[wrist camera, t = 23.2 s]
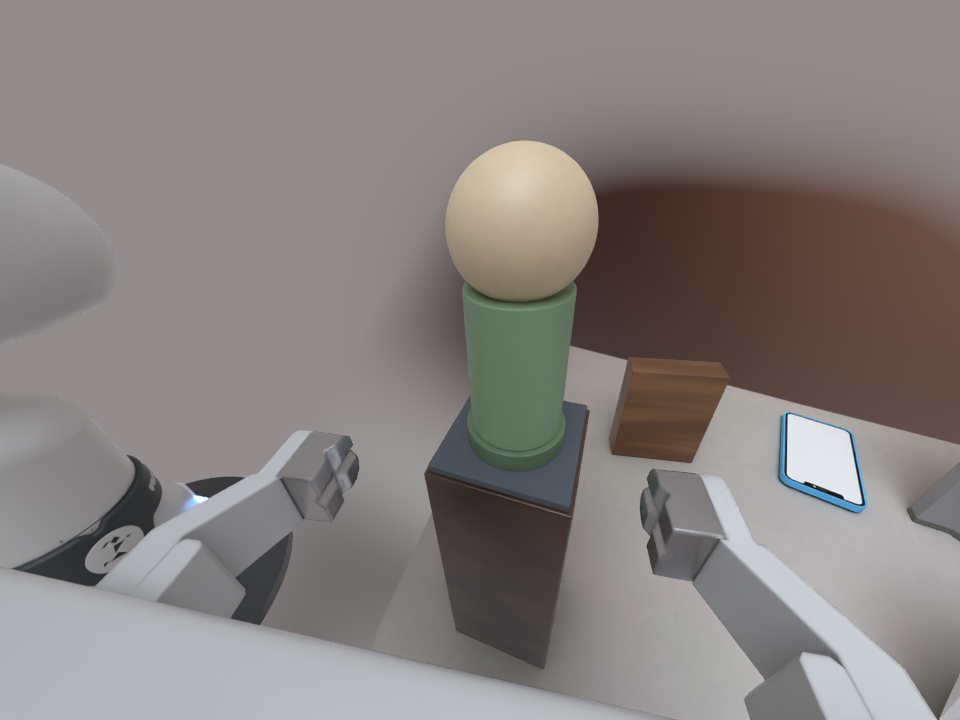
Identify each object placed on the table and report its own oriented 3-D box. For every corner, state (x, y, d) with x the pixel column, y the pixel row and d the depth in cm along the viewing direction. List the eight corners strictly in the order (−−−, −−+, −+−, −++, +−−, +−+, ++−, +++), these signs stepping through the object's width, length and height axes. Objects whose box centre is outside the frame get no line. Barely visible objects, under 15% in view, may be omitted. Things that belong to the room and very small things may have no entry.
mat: (428, 471, 19) (427, 465, 19) (477, 388, 25) (477, 383, 24) (568, 513, 16) (570, 507, 16) (586, 410, 22) (587, 405, 22)
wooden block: (691, 463, 45) (730, 377, 37) (611, 454, 47) (633, 371, 39) (684, 445, 48) (719, 362, 40) (609, 438, 49) (628, 356, 41)
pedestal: (455, 630, 31) (423, 473, 19) (485, 546, 37) (475, 386, 25) (543, 669, 29) (572, 518, 16) (559, 572, 35) (589, 409, 22)
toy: (562, 469, 21) (602, 529, 9) (468, 458, 22) (379, 496, 10) (573, 272, 24) (617, 90, 11) (487, 270, 25) (436, 102, 12)
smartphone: (852, 431, 47) (868, 511, 37) (847, 437, 48) (862, 517, 38) (784, 410, 51) (782, 477, 41) (780, 416, 52) (778, 483, 42)
